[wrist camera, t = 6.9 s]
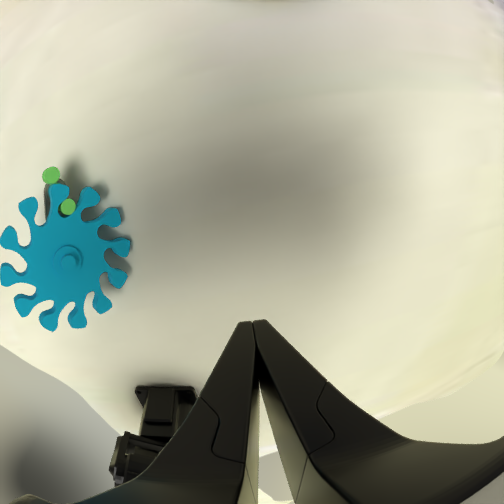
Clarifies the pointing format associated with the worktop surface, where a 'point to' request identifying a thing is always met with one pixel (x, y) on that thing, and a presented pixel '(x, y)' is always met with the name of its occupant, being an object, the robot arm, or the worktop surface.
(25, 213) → the gear
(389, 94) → the worktop surface
